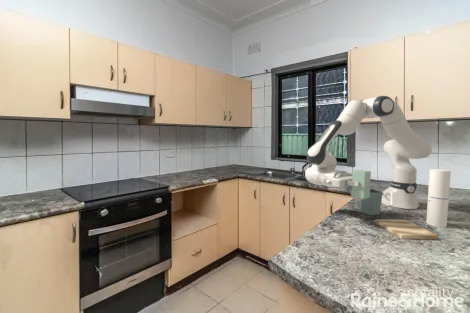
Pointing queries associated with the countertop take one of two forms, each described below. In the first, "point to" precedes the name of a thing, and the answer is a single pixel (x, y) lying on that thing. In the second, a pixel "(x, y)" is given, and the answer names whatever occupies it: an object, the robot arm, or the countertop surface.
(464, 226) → the countertop surface
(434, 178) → the cylindrical container
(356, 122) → the robot arm
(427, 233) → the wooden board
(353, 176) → the mint green rectangular block
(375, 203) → the teal plant pot
